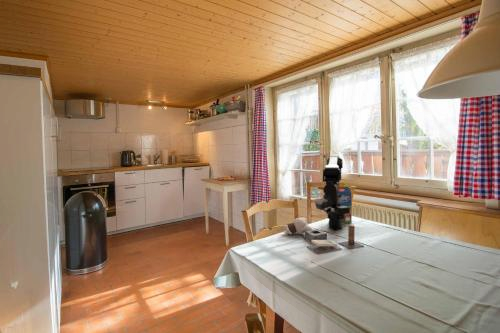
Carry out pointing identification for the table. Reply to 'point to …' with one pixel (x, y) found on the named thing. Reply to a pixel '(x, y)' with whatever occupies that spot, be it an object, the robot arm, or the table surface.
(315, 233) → the grey square block
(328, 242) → the rocker
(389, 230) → the table surface
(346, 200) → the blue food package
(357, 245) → the pad
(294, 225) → the toy
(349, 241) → the stylus
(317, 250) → the rocker housing
